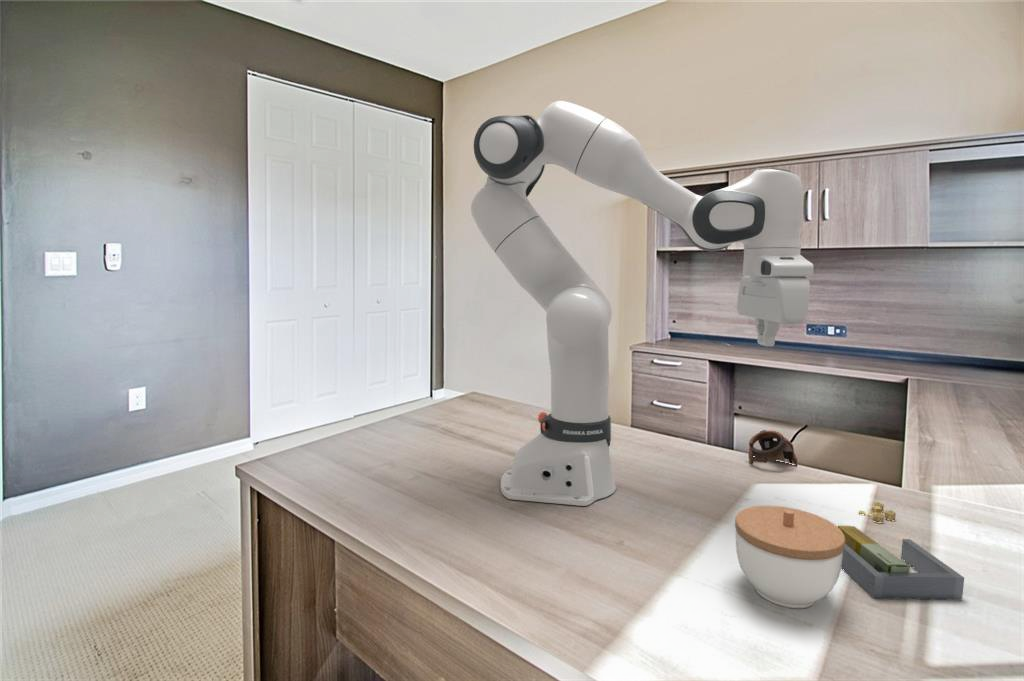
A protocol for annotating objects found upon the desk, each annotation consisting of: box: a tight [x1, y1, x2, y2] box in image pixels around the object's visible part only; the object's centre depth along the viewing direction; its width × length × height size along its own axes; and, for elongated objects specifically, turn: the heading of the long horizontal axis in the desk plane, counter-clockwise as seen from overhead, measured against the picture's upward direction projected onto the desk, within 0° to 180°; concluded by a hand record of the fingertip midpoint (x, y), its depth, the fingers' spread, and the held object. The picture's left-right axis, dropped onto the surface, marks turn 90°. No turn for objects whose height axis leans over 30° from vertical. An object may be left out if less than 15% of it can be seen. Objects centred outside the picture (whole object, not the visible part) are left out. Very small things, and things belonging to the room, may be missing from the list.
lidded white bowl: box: [734, 505, 845, 609], centre depth 70 cm, size 13×13×11 cm
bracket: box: [841, 538, 965, 600], centre depth 74 cm, size 11×10×3 cm
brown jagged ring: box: [747, 429, 799, 467], centre depth 119 cm, size 12×10×8 cm
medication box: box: [837, 525, 911, 573], centre depth 76 cm, size 12×3×4 cm, turn 0°
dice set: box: [858, 501, 897, 523], centre depth 93 cm, size 5×5×2 cm
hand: (765, 345), depth 96 cm, fingers closed
